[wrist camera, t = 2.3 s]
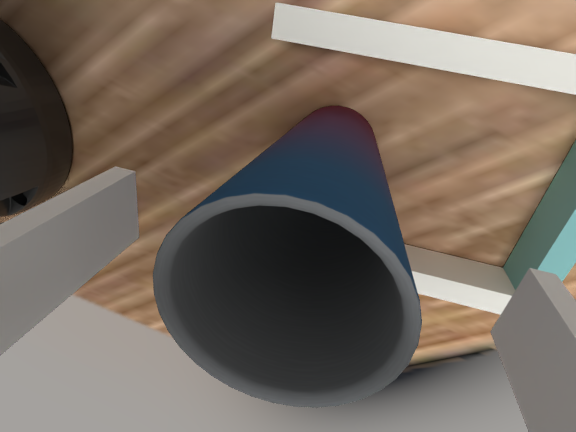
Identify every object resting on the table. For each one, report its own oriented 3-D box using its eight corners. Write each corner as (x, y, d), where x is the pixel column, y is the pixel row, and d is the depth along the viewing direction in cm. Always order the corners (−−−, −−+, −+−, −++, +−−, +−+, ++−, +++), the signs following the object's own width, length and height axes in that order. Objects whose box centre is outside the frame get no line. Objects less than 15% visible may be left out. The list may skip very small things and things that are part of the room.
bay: (259, 227, 26) (246, 249, 23) (288, 6, 19) (275, 2, 16) (515, 291, 24) (533, 323, 21) (652, 69, 17) (704, 76, 14)
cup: (401, 184, 22) (444, 405, 9) (299, 207, 24) (215, 410, 11) (376, 72, 19) (386, 157, 6) (265, 109, 22) (104, 227, 9)
